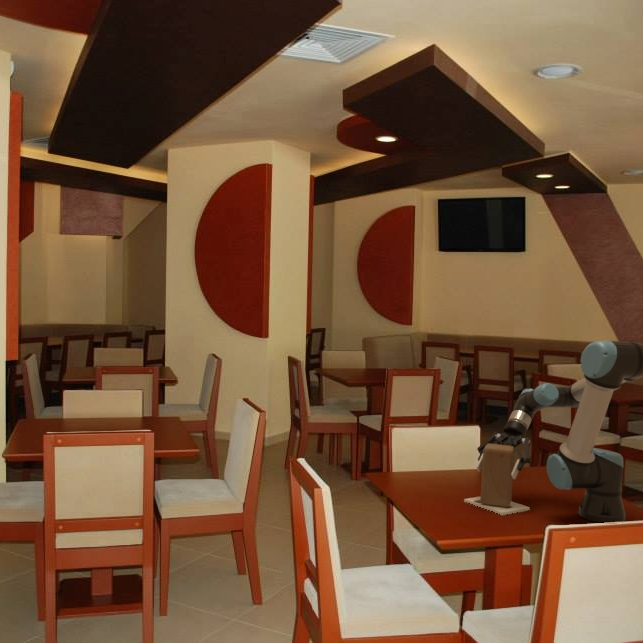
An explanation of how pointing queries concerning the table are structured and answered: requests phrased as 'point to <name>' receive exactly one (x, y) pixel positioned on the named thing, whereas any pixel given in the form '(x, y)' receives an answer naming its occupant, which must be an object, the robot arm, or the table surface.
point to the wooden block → (497, 475)
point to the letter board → (498, 509)
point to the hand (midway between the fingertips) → (495, 473)
